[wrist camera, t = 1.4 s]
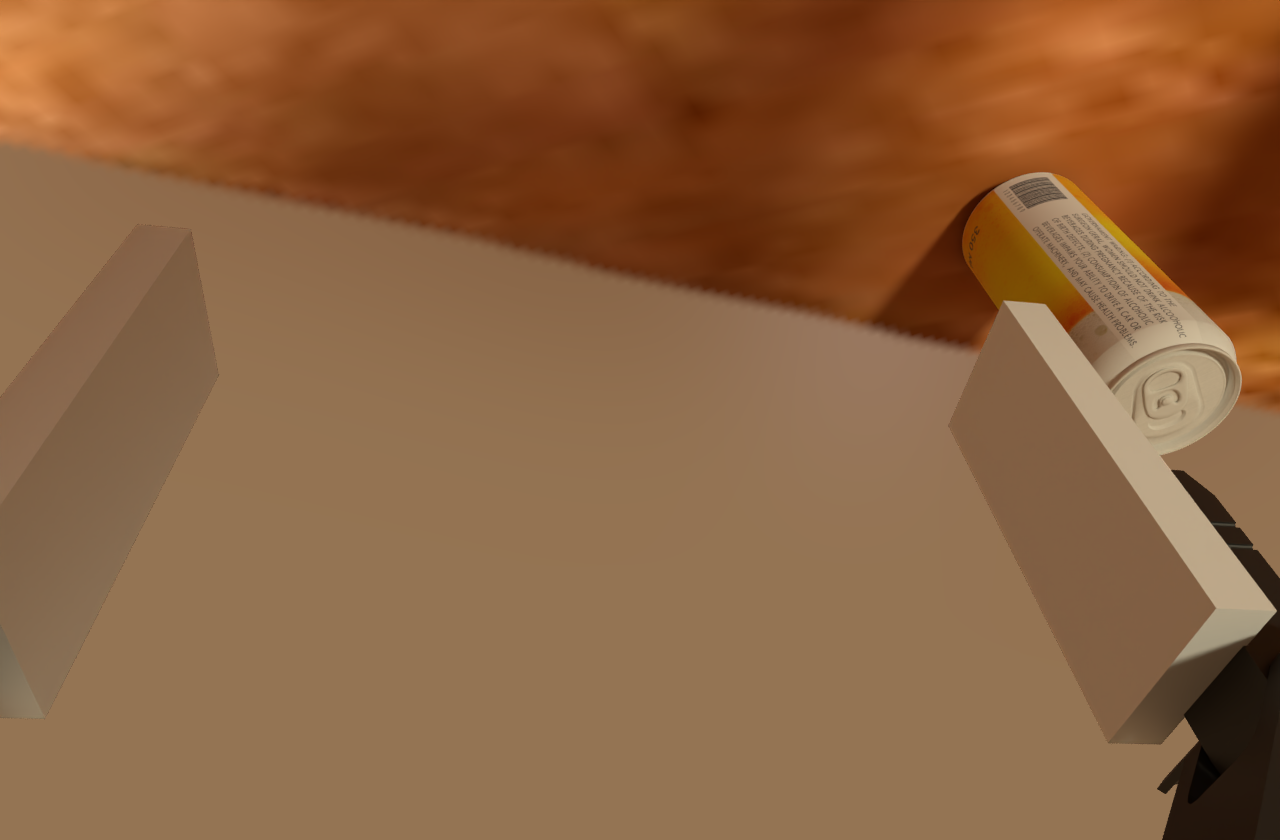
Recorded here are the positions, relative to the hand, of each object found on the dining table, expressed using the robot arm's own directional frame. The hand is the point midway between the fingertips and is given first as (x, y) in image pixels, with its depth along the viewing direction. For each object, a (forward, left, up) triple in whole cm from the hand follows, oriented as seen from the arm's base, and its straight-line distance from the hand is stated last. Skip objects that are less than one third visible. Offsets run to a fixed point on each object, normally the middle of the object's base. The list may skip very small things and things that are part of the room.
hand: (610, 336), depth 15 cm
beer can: (+9, +23, -28) cm, 38 cm away
